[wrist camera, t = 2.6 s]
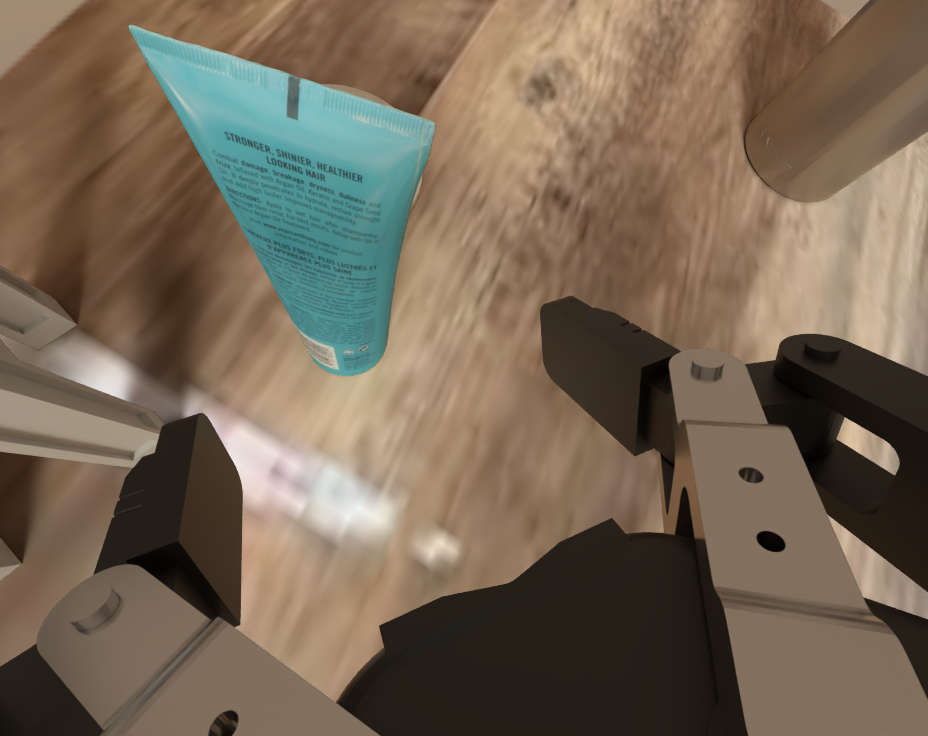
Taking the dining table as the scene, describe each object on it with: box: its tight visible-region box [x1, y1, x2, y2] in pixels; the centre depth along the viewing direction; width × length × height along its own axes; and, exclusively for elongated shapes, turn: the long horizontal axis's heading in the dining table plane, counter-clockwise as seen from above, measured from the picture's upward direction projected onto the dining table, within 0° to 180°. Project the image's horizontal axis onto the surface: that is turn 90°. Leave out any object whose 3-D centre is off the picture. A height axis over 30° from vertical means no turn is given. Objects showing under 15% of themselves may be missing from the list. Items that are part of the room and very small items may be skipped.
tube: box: [128, 25, 436, 376], centre depth 20 cm, size 7×5×19 cm, turn 82°
